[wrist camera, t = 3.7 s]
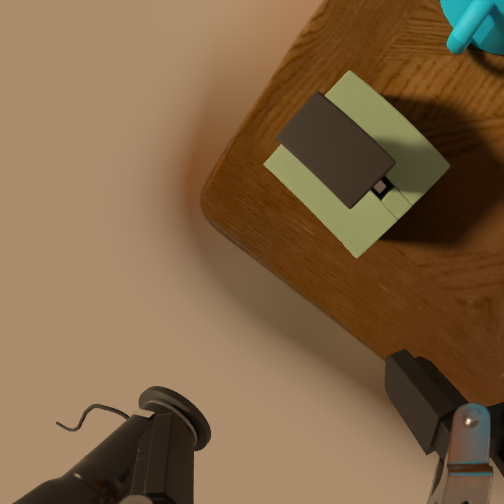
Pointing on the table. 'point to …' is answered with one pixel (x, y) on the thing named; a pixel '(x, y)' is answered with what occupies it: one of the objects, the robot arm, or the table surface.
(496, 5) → the mug
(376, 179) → the knife
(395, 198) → the knife block
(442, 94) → the table surface
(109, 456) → the robot arm
